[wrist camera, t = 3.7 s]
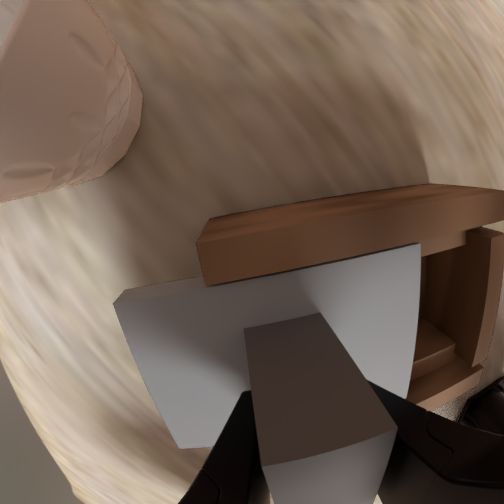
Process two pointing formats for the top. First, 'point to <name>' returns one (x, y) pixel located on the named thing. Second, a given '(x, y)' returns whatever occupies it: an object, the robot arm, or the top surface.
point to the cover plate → (216, 311)
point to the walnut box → (379, 238)
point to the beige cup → (61, 97)
